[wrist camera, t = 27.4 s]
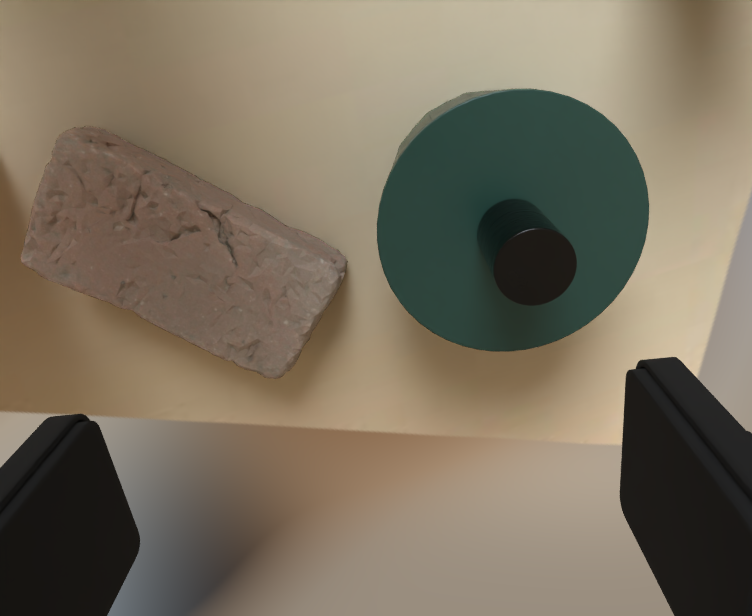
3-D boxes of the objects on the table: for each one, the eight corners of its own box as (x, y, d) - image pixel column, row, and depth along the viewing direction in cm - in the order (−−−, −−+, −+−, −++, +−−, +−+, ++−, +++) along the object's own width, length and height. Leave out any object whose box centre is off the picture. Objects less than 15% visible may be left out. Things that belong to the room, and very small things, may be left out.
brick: (353, 251, 36) (348, 278, 32) (295, 357, 39) (283, 394, 35) (95, 116, 33) (51, 124, 29) (54, 240, 36) (7, 265, 32)
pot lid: (331, 167, 27) (315, 196, 22) (589, 33, 25) (647, 27, 19) (442, 377, 32) (452, 446, 26) (672, 281, 29) (738, 335, 24)
